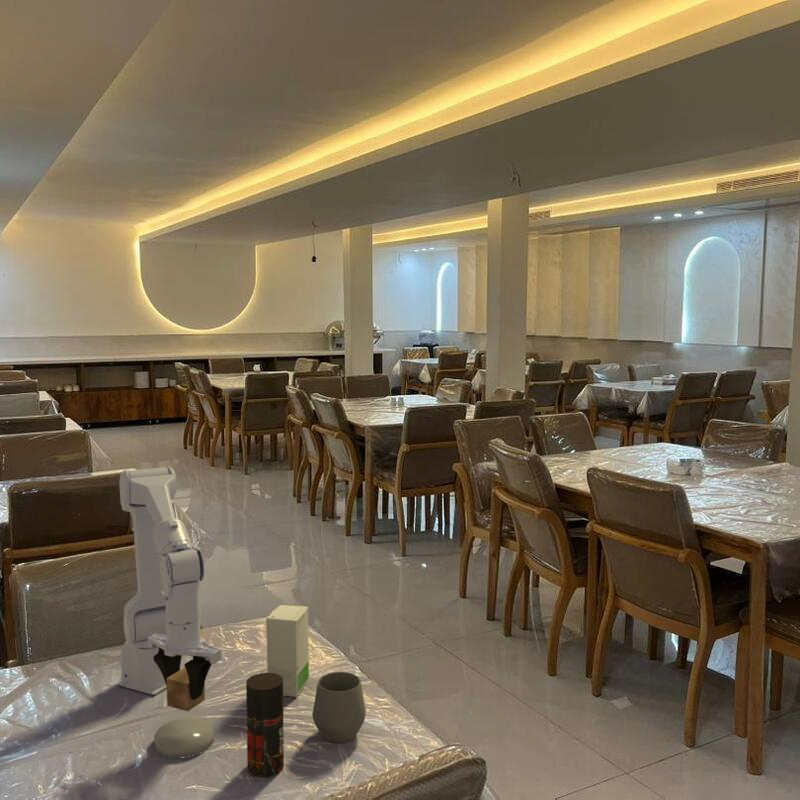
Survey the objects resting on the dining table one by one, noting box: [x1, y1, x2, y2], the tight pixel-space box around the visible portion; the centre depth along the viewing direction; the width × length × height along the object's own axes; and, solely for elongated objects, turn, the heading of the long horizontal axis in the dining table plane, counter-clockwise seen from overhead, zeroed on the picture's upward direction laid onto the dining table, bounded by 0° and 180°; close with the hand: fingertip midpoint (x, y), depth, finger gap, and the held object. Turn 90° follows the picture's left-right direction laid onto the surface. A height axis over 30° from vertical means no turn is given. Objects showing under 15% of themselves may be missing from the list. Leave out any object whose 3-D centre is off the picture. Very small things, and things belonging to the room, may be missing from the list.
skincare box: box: [265, 604, 310, 698], centre depth 157 cm, size 8×7×16 cm
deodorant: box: [245, 672, 285, 779], centre depth 129 cm, size 6×6×15 cm
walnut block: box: [166, 667, 206, 712], centre depth 137 cm, size 4×4×5 cm
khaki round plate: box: [153, 717, 215, 759], centre depth 137 cm, size 10×10×2 cm
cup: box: [311, 671, 367, 744], centre depth 139 cm, size 10×9×10 cm
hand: (185, 693), depth 137 cm, fingers closed on walnut block, 4 cm apart
